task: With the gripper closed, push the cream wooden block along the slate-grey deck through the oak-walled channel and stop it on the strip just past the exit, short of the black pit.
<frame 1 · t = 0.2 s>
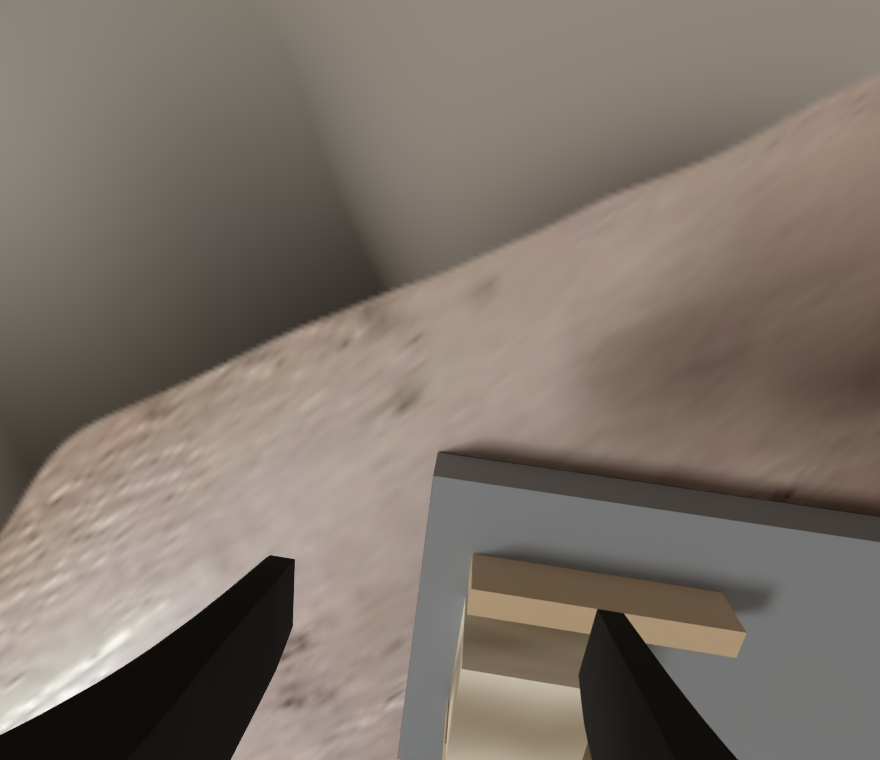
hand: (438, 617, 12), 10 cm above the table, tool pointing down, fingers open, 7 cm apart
wooden block: (514, 650, 21), point 2 cm above the table, touching deck
deck: (769, 656, 23), on the table
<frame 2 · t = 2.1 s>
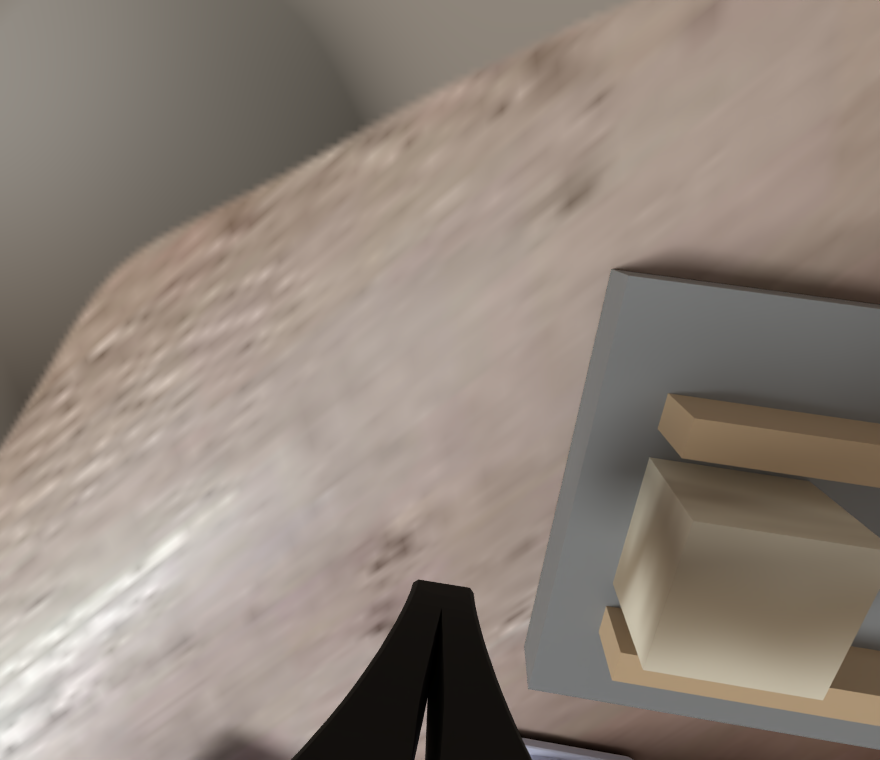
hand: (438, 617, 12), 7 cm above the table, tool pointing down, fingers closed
wooden block: (705, 535, 16), point 2 cm above the table, touching deck
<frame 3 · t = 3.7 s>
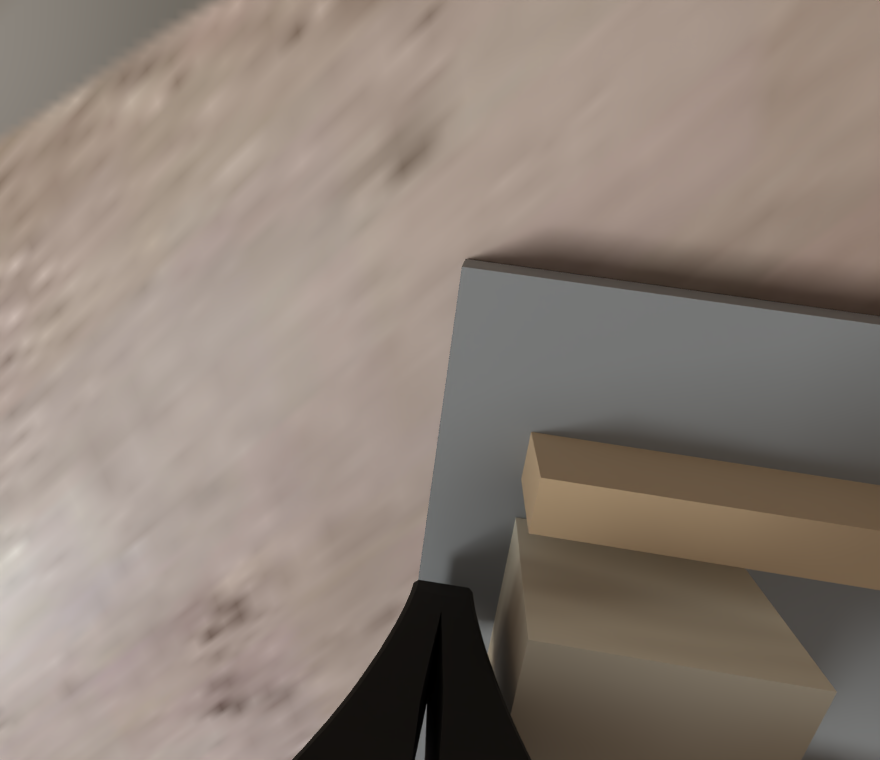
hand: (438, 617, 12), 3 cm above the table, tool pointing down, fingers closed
wooden block: (598, 618, 12), point 2 cm above the table, touching deck, gripper
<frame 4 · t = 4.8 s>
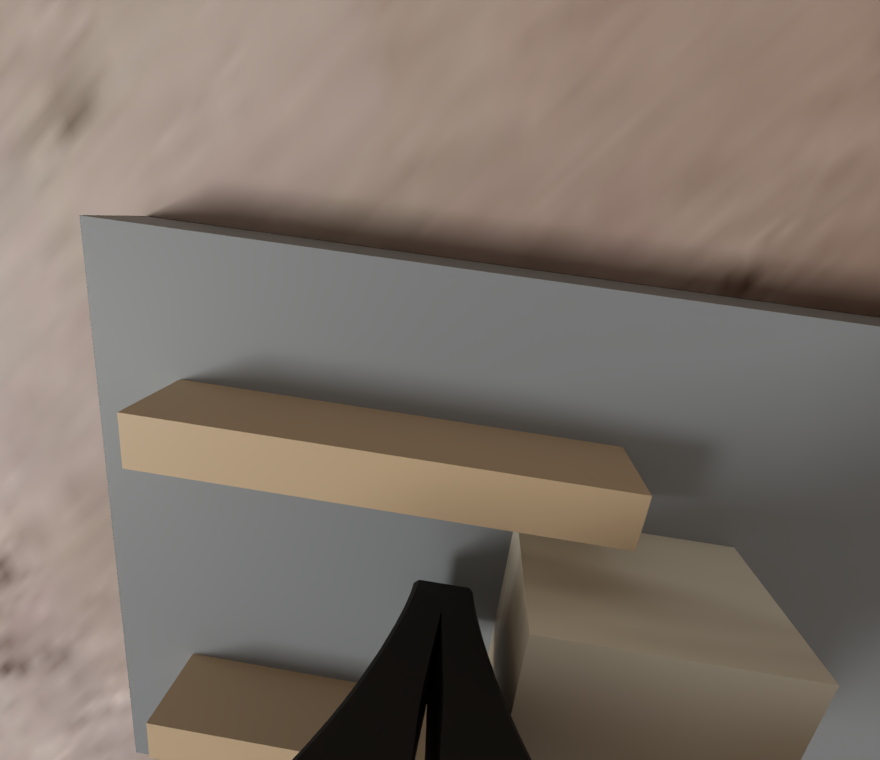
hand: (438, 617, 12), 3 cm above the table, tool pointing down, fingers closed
wooden block: (599, 615, 12), point 2 cm above the table, touching gripper
deck: (722, 588, 14), on the table
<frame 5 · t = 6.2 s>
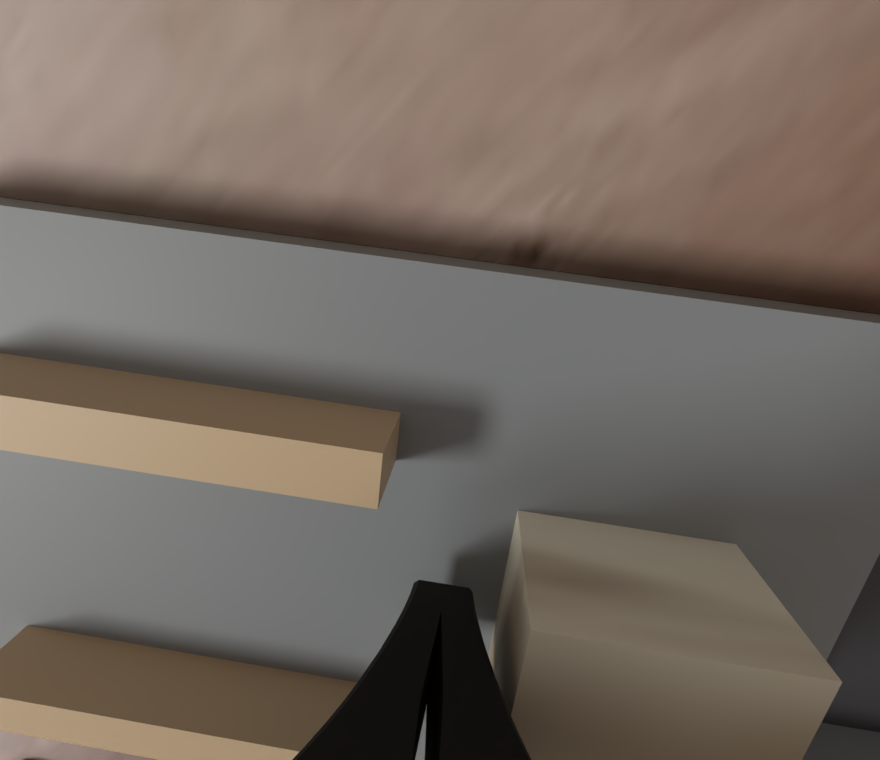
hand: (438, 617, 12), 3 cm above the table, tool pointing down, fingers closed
wooden block: (601, 612, 12), point 2 cm above the table, touching deck, gripper
deck: (550, 559, 14), on the table
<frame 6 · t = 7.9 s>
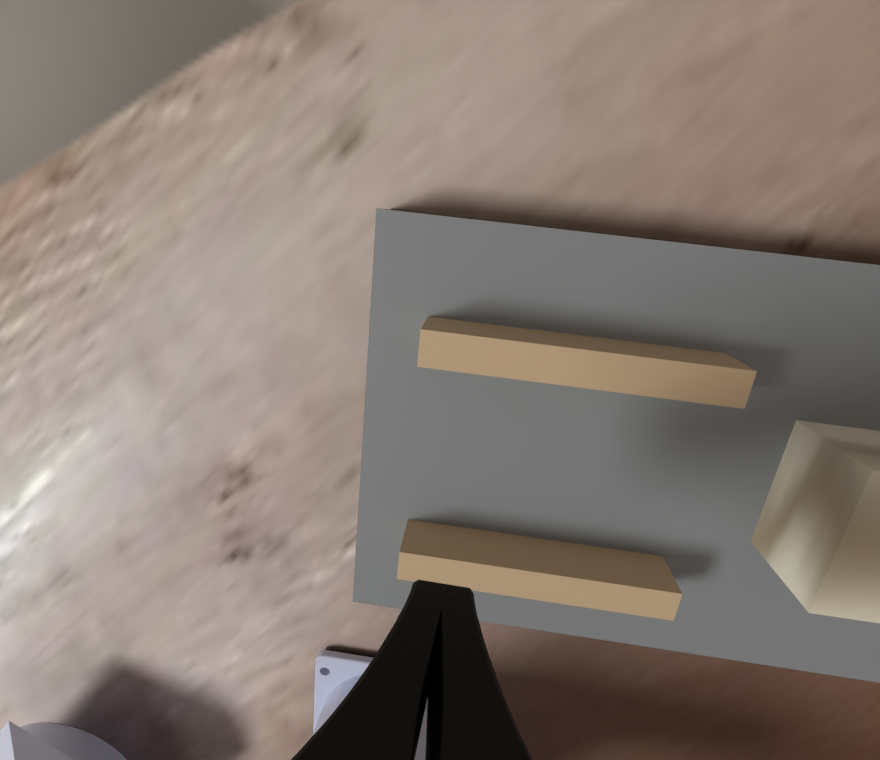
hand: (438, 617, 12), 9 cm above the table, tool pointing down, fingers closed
wooden block: (844, 493, 17), point 2 cm above the table, touching deck
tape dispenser: (88, 756, 29), on the table
deck: (782, 467, 19), on the table
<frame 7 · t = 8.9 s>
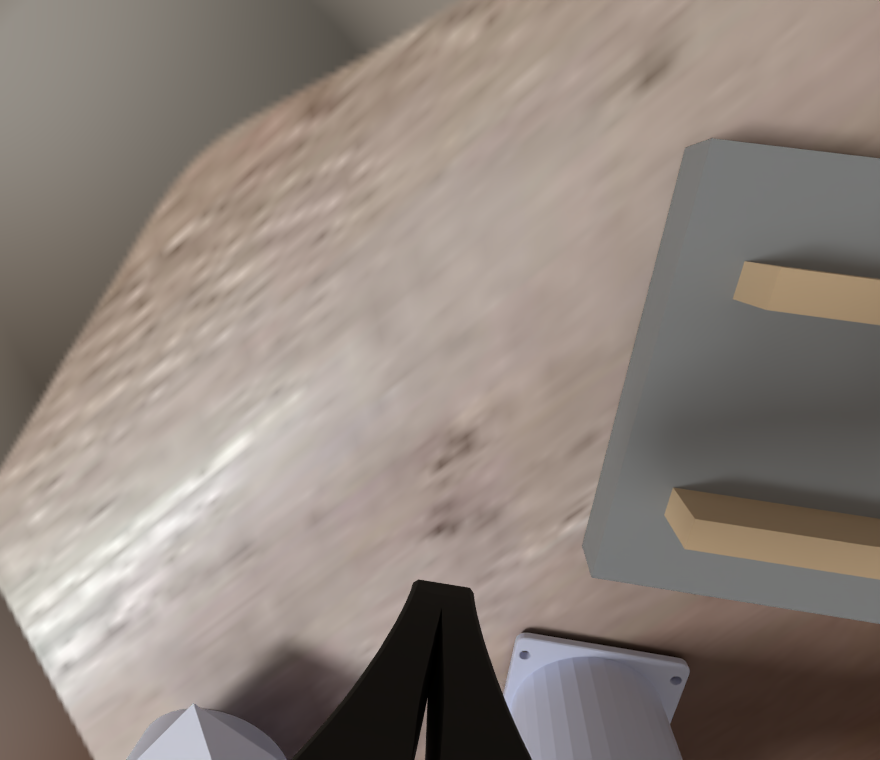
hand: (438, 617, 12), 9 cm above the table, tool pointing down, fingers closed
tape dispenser: (235, 745, 28), on the table
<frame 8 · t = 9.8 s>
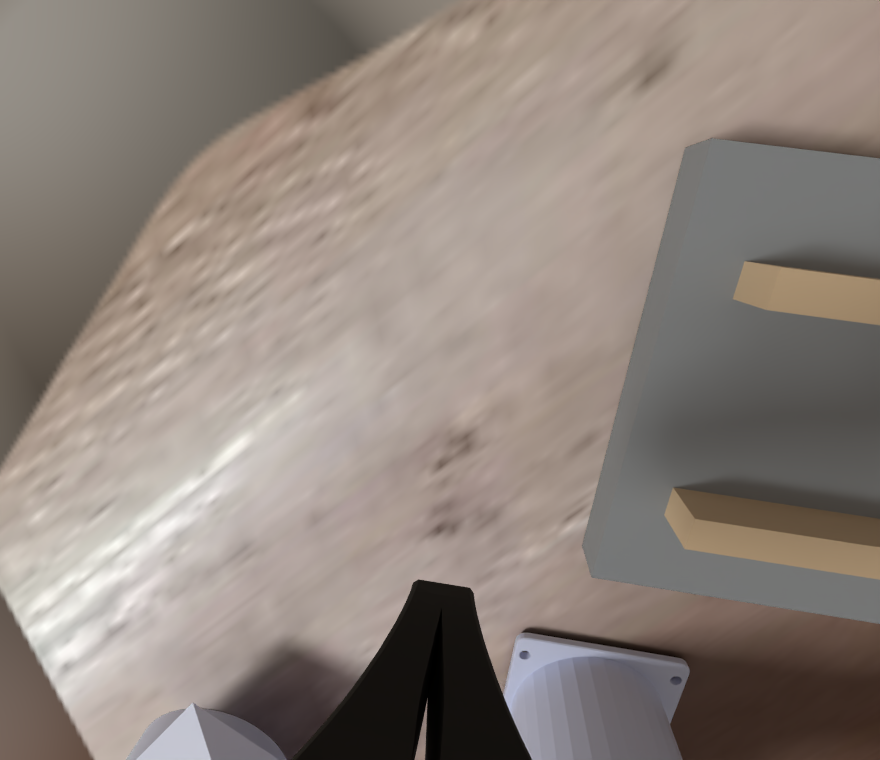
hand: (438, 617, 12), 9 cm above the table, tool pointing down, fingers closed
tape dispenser: (235, 745, 28), on the table
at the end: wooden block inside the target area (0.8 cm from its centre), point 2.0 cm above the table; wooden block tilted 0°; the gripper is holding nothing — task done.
